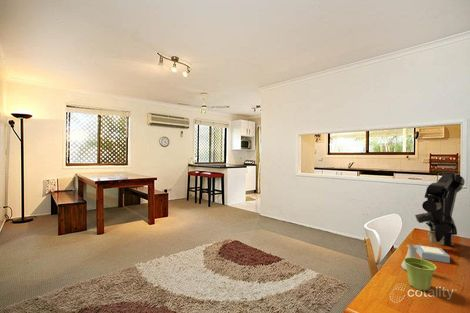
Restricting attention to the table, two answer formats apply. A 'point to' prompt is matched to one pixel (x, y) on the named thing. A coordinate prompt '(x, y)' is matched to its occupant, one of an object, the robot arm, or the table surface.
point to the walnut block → (434, 238)
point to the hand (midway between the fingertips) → (435, 239)
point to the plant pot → (419, 273)
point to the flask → (410, 254)
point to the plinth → (432, 254)
